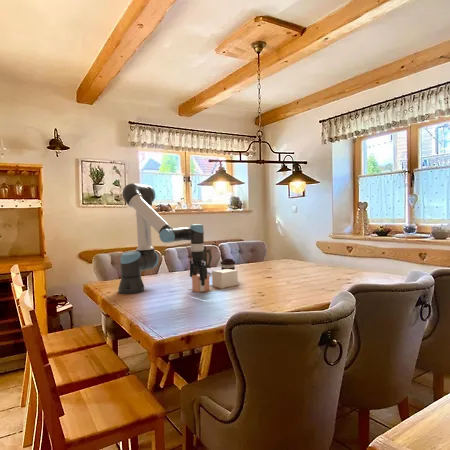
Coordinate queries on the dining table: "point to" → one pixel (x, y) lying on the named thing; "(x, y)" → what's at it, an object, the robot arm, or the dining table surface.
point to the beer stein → (206, 258)
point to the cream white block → (224, 278)
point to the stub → (197, 283)
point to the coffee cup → (228, 264)
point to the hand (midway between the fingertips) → (198, 290)
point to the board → (213, 288)
